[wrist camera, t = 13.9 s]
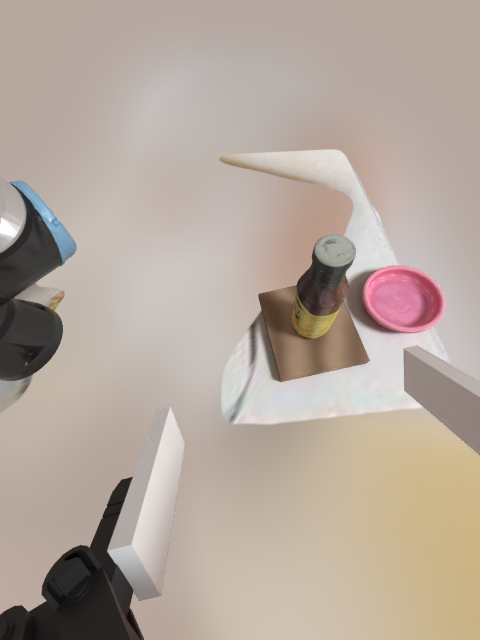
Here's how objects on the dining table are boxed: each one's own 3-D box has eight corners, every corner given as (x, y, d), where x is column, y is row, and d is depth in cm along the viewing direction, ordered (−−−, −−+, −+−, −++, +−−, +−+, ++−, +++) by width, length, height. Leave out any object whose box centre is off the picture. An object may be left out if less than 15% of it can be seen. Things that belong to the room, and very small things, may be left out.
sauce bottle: (295, 304, 45) (309, 216, 28) (331, 312, 44) (371, 224, 26) (286, 338, 43) (296, 265, 25) (325, 347, 42) (364, 277, 24)
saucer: (371, 343, 43) (378, 336, 40) (349, 281, 48) (353, 271, 45) (448, 332, 42) (461, 324, 39) (417, 270, 48) (426, 259, 45)
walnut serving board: (280, 382, 42) (281, 380, 40) (258, 298, 49) (258, 294, 47) (366, 363, 41) (369, 360, 40) (332, 281, 48) (333, 276, 47)
